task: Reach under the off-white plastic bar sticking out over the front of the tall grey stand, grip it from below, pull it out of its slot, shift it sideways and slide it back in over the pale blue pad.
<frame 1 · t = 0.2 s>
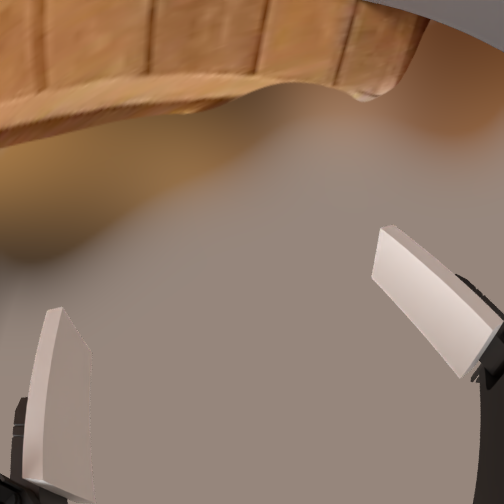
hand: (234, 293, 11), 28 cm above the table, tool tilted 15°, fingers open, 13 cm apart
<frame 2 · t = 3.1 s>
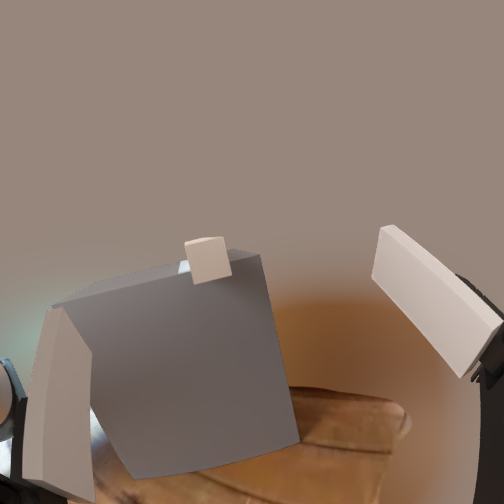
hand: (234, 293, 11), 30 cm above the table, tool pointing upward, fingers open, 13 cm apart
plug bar: (202, 264, 36), point 29 cm above the table, touching slot stand
slot stand: (208, 430, 44), on the table
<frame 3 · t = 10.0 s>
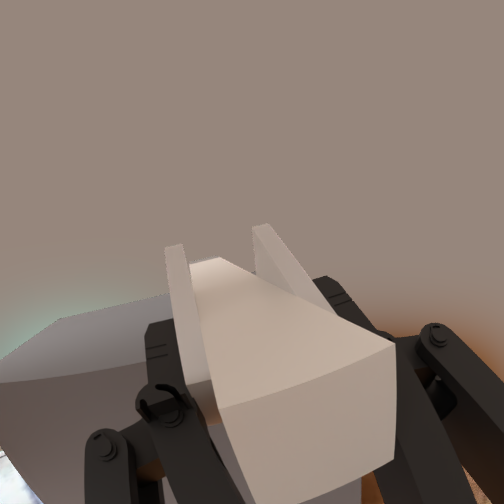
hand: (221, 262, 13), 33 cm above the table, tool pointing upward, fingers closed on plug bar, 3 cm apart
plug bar: (228, 321, 18), point 29 cm above the table, touching gripper, slot stand
when the fingers open (34 cm above the table, at t = 18.6 s): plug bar drops 1 cm, resting on slot stand.
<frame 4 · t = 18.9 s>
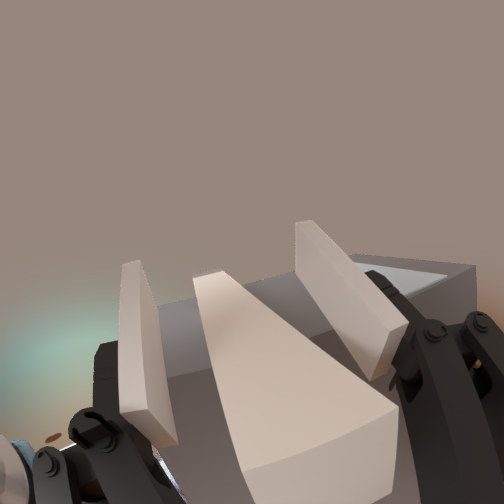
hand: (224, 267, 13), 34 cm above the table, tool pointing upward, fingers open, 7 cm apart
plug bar: (233, 341, 18), point 28 cm above the table, touching slot stand
slot stand: (326, 491, 29), on the table
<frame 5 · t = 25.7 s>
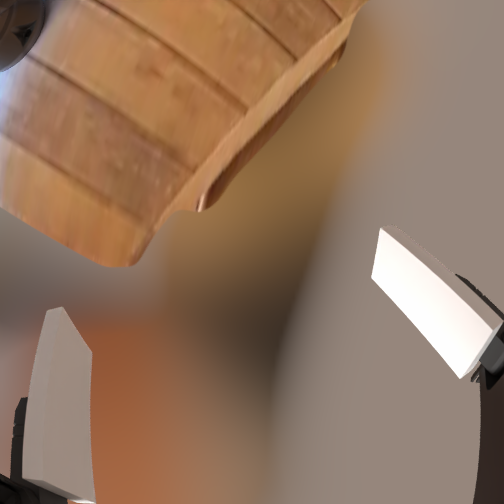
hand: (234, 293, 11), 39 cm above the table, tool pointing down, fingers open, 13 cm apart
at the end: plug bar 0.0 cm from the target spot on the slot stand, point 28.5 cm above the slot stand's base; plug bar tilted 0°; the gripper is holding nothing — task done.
